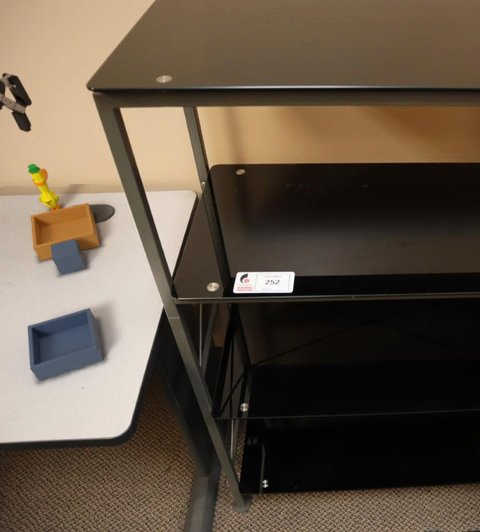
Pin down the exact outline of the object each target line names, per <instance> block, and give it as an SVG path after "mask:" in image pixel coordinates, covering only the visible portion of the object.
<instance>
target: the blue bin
mask: <svg viewBox="0 0 480 532" xmlns="http://www.w3.org/2000/svg"><path fill="white" fill-rule="evenodd" d="M27 341H28V355H29V356H28V357H29V369H30V371H31V372H32V373H33V375H34V376H35V377H36V379H37V380H38V381H39V382H42V381H44V380H47V379H50V378H54V377H56V376H59V375H63V374H65V373H68V372H71V371H74V370H78V369H80V368H84V367H87V366H90V365H92V364H95V363H99V362H102V361H104V354H103V349H102V344H101V343H102V342H101V338H100V332H99V327H98V322H97V319H96V317H95V315H94V313H93V311H92V309H91V308H90V307H88V308H86V309H82V310H78V311H74V312H71V313H68V314H65V315H60V316H58V317H54V318H50V319H47V320H43V321H41V322H37V323H34V324H30V325H27Z"/></svg>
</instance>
